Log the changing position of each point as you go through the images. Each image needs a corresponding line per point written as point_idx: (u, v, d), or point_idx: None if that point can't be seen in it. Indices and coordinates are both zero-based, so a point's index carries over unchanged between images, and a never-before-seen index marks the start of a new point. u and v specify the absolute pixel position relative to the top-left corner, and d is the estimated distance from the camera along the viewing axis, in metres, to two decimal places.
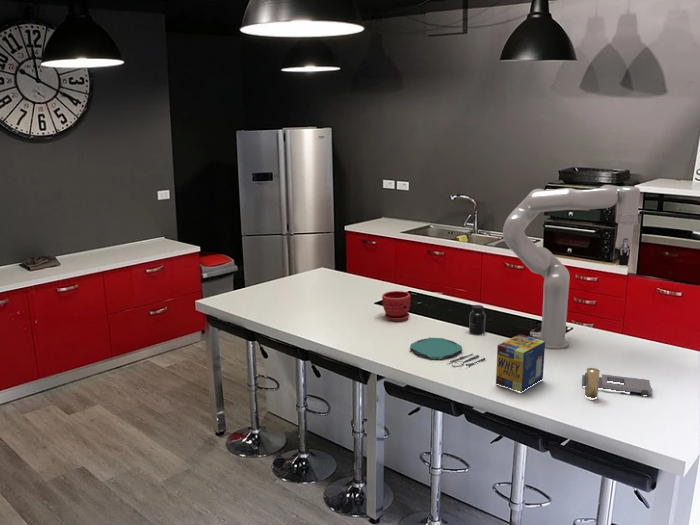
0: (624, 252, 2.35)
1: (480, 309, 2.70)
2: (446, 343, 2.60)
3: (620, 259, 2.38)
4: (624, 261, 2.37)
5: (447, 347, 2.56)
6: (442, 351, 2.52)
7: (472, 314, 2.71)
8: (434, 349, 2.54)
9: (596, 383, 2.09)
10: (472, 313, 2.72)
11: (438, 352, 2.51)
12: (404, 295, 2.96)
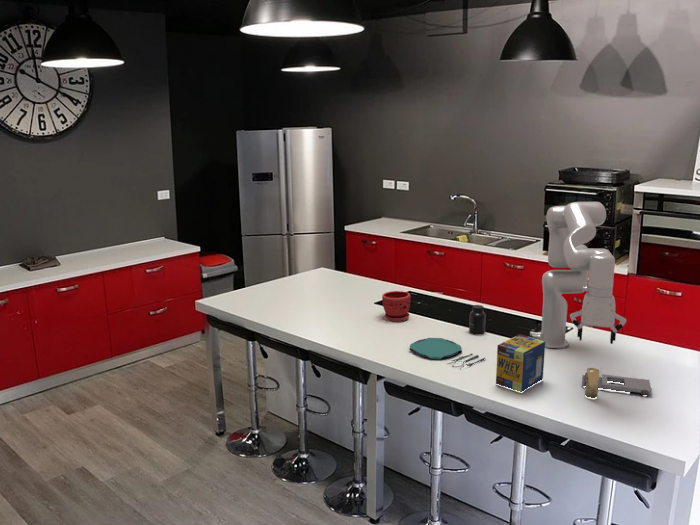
0: None
1: (480, 309, 2.70)
2: (445, 343, 2.60)
3: (613, 337, 2.04)
4: (615, 337, 2.05)
5: (446, 347, 2.56)
6: (442, 351, 2.52)
7: (472, 314, 2.71)
8: (434, 349, 2.54)
9: (596, 383, 2.09)
10: (472, 313, 2.72)
11: (437, 352, 2.51)
12: (404, 295, 2.96)
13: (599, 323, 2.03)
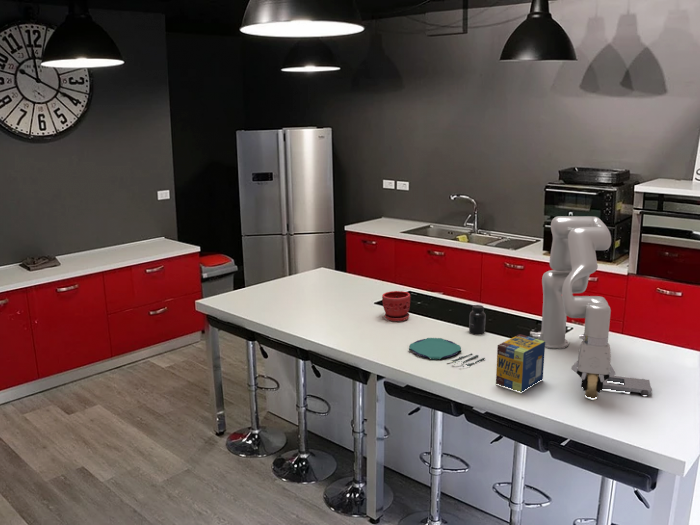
0: None
1: (480, 309, 2.70)
2: (445, 343, 2.60)
3: (600, 386, 2.09)
4: None
5: (446, 347, 2.56)
6: (441, 351, 2.52)
7: (472, 314, 2.71)
8: (433, 349, 2.54)
9: (596, 383, 2.09)
10: (472, 313, 2.72)
11: (437, 352, 2.51)
12: (404, 295, 2.96)
13: (595, 371, 2.07)
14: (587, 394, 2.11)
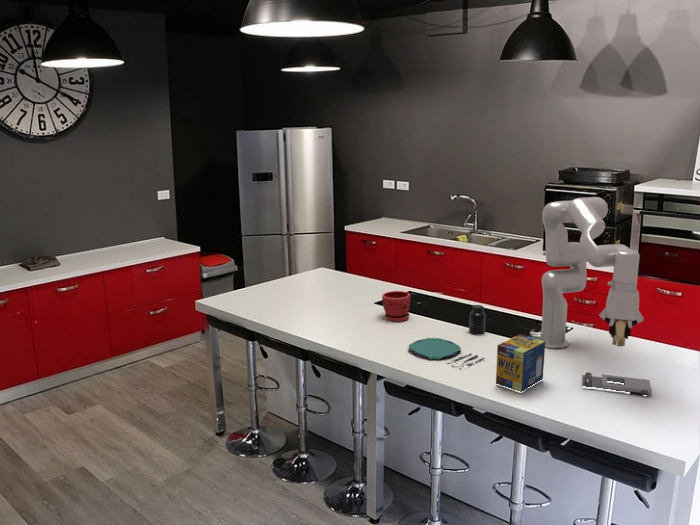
0: None
1: (480, 309, 2.70)
2: (444, 343, 2.60)
3: (628, 332, 2.13)
4: None
5: (445, 347, 2.56)
6: (441, 351, 2.52)
7: (472, 314, 2.71)
8: (433, 349, 2.54)
9: (624, 329, 2.12)
10: (472, 313, 2.72)
11: (437, 352, 2.51)
12: (404, 295, 2.96)
13: (623, 316, 2.10)
14: (615, 340, 2.14)
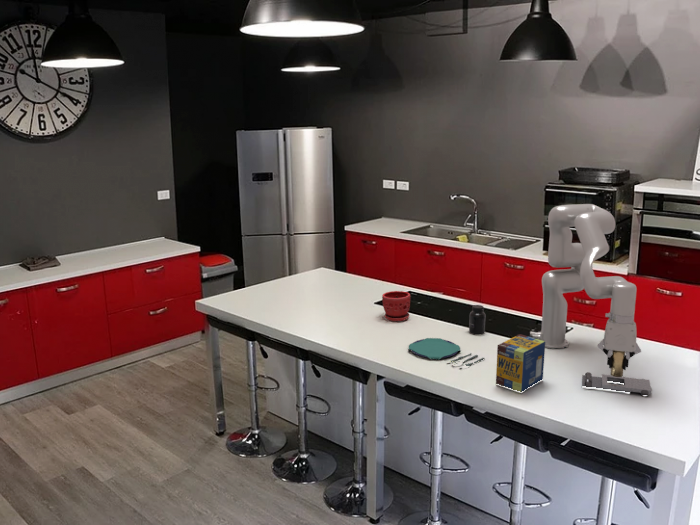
0: None
1: (480, 309, 2.70)
2: (444, 343, 2.60)
3: (626, 363, 2.15)
4: (627, 363, 2.17)
5: (445, 347, 2.56)
6: (440, 351, 2.52)
7: (472, 314, 2.71)
8: (432, 349, 2.54)
9: (622, 360, 2.15)
10: (472, 313, 2.72)
11: (436, 352, 2.51)
12: (404, 295, 2.96)
13: (621, 348, 2.13)
14: (613, 371, 2.17)
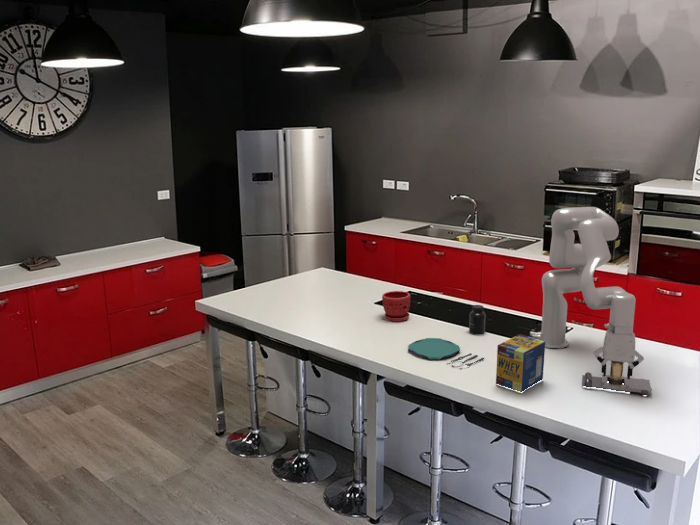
0: None
1: (480, 309, 2.70)
2: (443, 343, 2.60)
3: (630, 373, 2.16)
4: None
5: (445, 347, 2.56)
6: (440, 351, 2.52)
7: (472, 314, 2.71)
8: (432, 349, 2.54)
9: (620, 373, 2.17)
10: (472, 313, 2.72)
11: (436, 353, 2.51)
12: (404, 295, 2.96)
13: (620, 358, 2.14)
14: None
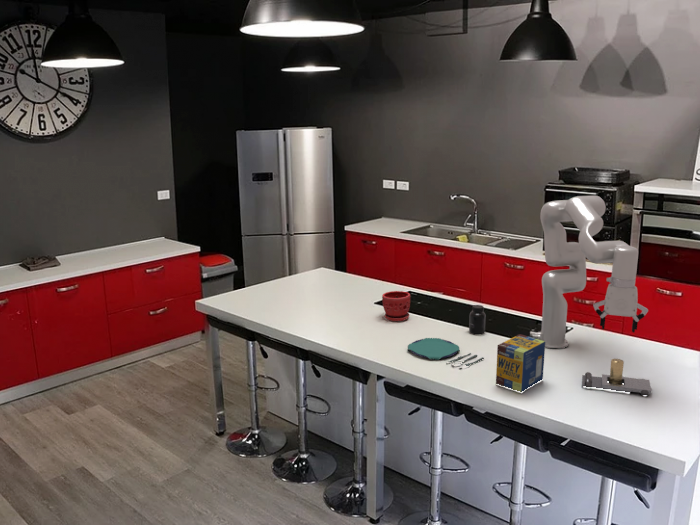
0: None
1: (480, 309, 2.70)
2: (443, 343, 2.60)
3: (635, 326, 2.13)
4: (636, 326, 2.14)
5: (444, 347, 2.56)
6: (440, 351, 2.52)
7: (472, 314, 2.71)
8: (432, 349, 2.54)
9: (620, 373, 2.17)
10: (472, 313, 2.72)
11: (436, 352, 2.51)
12: (404, 295, 2.96)
13: (622, 312, 2.12)
14: None
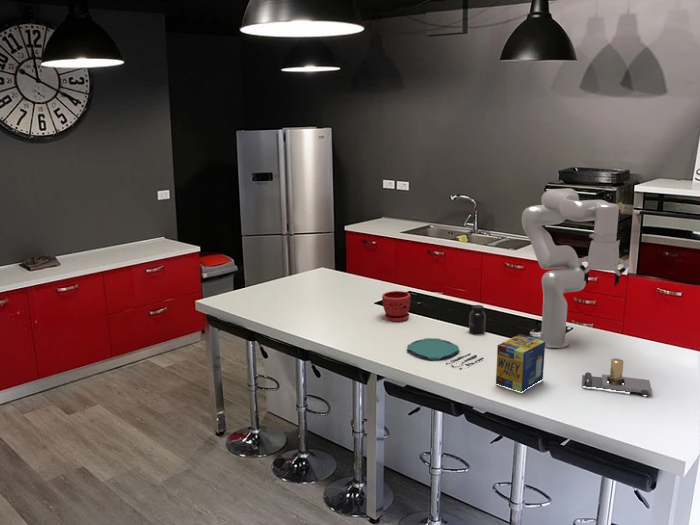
0: None
1: (480, 309, 2.70)
2: (442, 343, 2.60)
3: (617, 280, 2.23)
4: (618, 280, 2.25)
5: (444, 347, 2.56)
6: (439, 352, 2.52)
7: (472, 314, 2.71)
8: (431, 350, 2.54)
9: (620, 373, 2.17)
10: (472, 313, 2.72)
11: (435, 353, 2.51)
12: (404, 295, 2.96)
13: (604, 267, 2.22)
14: None
